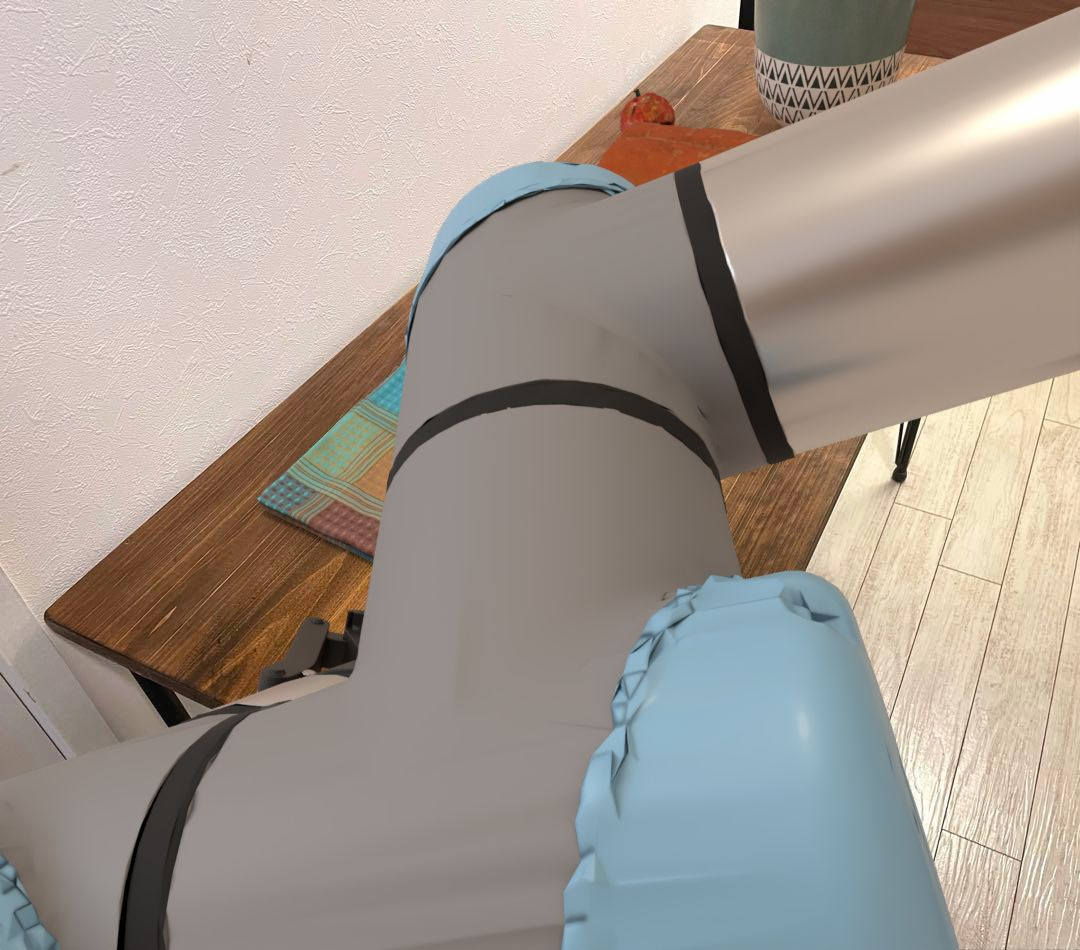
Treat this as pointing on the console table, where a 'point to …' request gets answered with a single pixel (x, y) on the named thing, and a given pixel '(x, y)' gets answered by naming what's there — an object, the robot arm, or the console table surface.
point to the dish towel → (344, 474)
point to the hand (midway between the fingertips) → (553, 669)
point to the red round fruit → (647, 110)
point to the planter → (826, 52)
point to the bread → (665, 149)
